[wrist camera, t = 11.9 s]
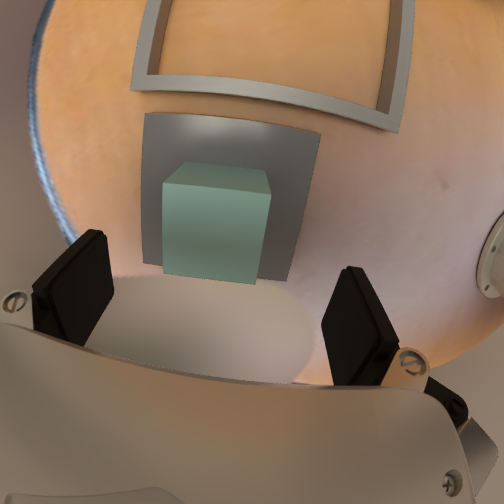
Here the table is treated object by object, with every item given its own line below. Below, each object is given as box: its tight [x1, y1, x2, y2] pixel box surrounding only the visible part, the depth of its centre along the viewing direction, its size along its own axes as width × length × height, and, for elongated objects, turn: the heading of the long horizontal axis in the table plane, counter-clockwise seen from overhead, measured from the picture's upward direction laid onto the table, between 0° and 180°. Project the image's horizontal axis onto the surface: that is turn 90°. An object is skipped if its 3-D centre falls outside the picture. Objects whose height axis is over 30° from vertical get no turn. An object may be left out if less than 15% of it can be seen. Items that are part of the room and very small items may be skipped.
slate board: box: [141, 112, 321, 281], centre depth 18 cm, size 11×11×2 cm
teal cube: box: [162, 162, 271, 285], centre depth 15 cm, size 5×5×5 cm
